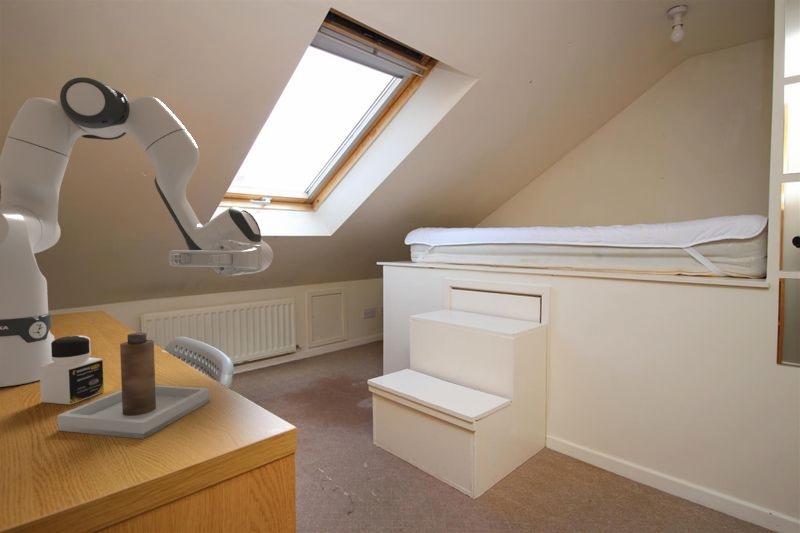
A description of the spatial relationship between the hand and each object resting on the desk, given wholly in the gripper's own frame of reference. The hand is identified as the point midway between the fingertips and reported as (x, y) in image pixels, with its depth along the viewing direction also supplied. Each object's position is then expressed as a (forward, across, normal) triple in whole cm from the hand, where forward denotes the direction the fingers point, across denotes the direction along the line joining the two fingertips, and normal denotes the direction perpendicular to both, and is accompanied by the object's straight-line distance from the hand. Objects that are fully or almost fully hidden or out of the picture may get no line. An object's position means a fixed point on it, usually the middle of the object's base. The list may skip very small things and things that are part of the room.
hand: (191, 259), depth 90 cm
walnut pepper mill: (+17, +2, +26) cm, 31 cm away
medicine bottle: (+12, -18, +27) cm, 35 cm away
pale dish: (+17, +2, +27) cm, 32 cm away
